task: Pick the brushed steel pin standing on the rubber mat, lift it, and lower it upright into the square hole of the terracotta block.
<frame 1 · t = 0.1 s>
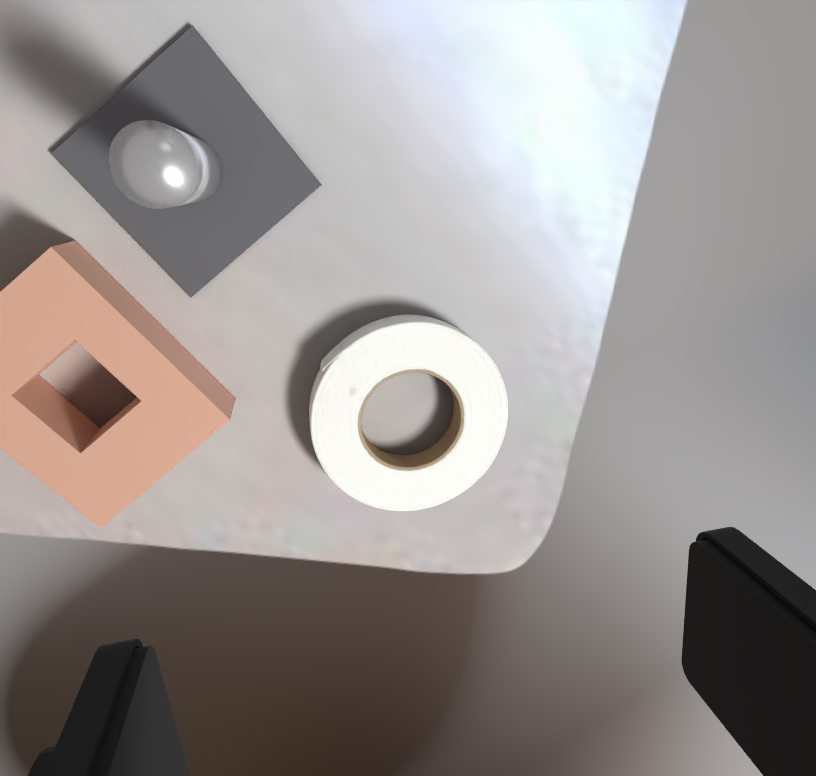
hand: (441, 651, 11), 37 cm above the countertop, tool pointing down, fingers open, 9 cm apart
hole block: (98, 377, 44), on the countertop
steel pin: (191, 169, 41), resting on rubber mat
rubber mat: (192, 169, 41), on the countertop
roll of tape: (404, 407, 50), on the countertop
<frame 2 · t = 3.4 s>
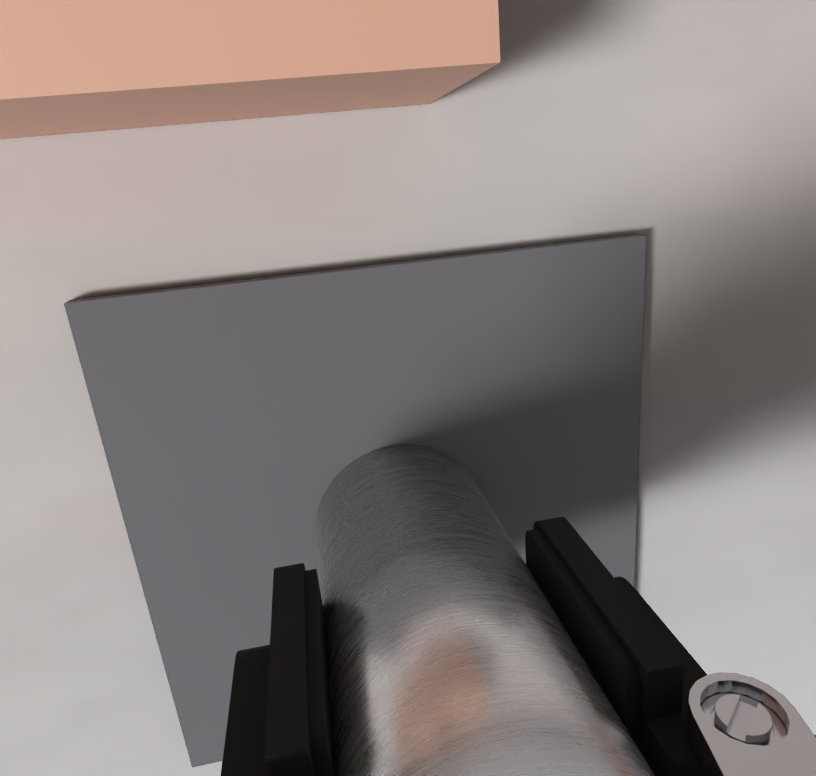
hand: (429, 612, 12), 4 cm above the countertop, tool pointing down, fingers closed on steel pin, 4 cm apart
steel pin: (401, 522, 15), resting on rubber mat, touching gripper
rubber mat: (398, 513, 15), on the countertop
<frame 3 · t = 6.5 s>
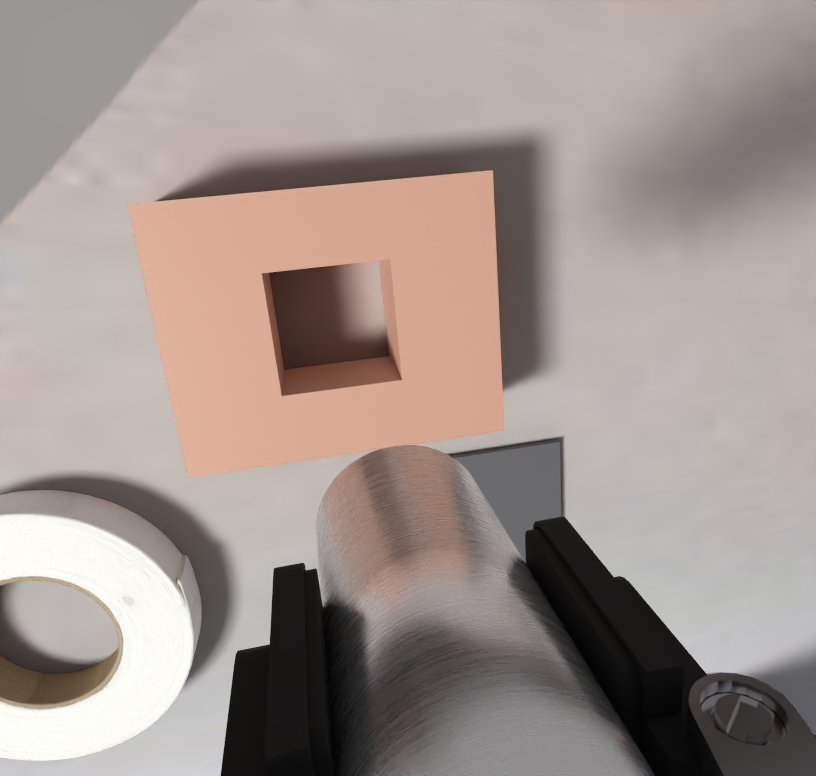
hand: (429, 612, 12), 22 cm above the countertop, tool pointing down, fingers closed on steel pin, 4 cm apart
hole block: (330, 310, 32), on the countertop
steel pin: (401, 523, 15), point 19 cm above the countertop, touching gripper
rubber mat: (463, 546, 37), on the countertop
roll of tape: (60, 609, 35), on the countertop
when the fingers open (6 cm above the countertop, at t = 9.5 s): steel pin drops 3 cm, resting in hole block.
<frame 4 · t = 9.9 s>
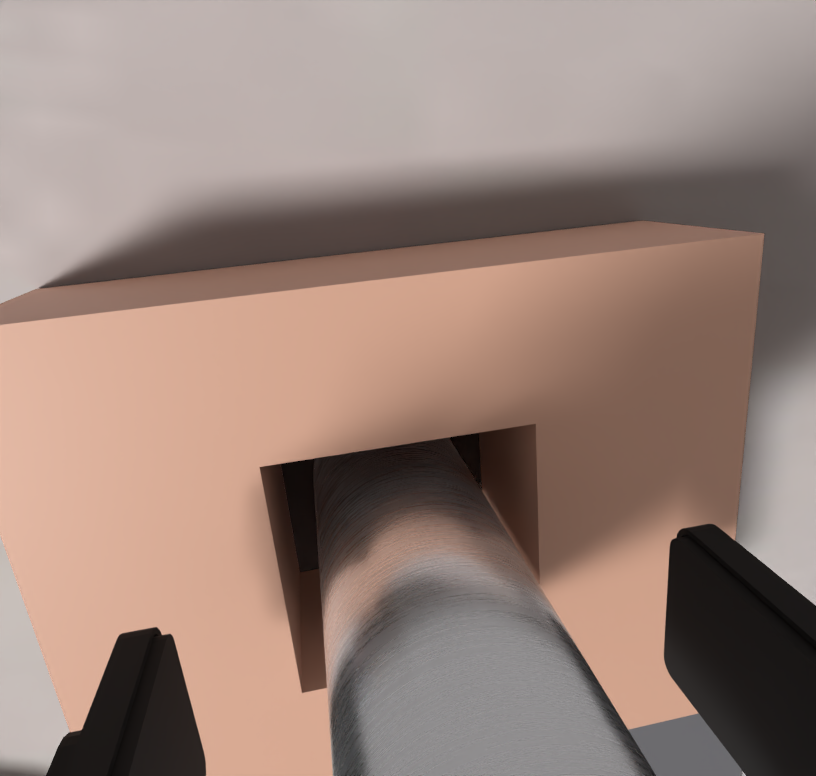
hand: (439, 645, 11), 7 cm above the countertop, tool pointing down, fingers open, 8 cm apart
hole block: (384, 470, 17), on the countertop
steel pin: (385, 471, 17), resting in hole block
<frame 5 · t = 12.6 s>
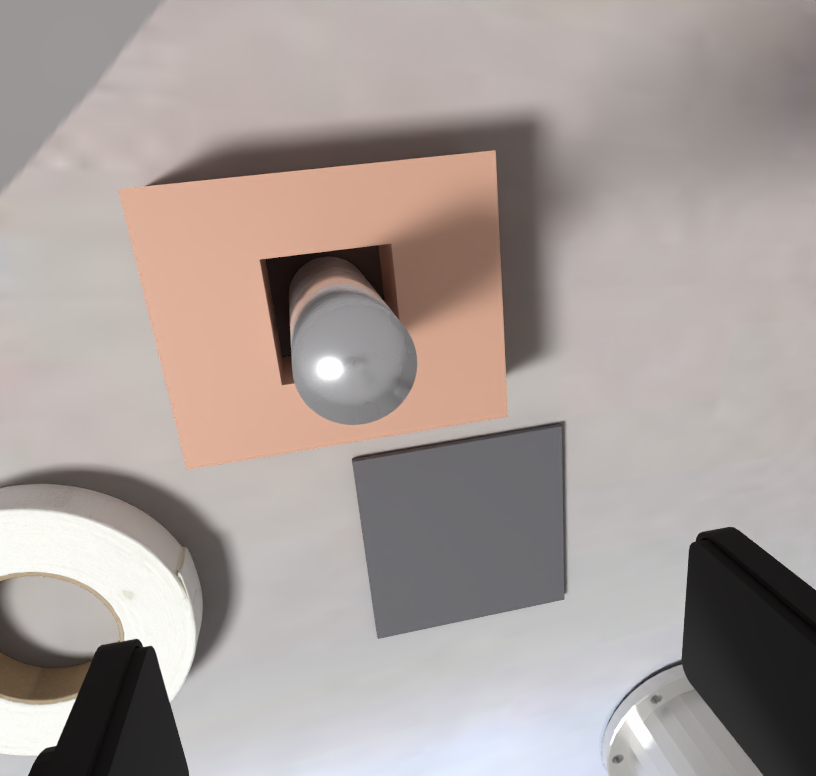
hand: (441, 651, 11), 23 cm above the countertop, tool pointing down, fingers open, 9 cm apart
hole block: (328, 296, 31), on the countertop
steel pin: (329, 297, 31), resting in hole block
rubber mat: (465, 532, 37), on the countertop
roll of tape: (59, 603, 34), on the countertop
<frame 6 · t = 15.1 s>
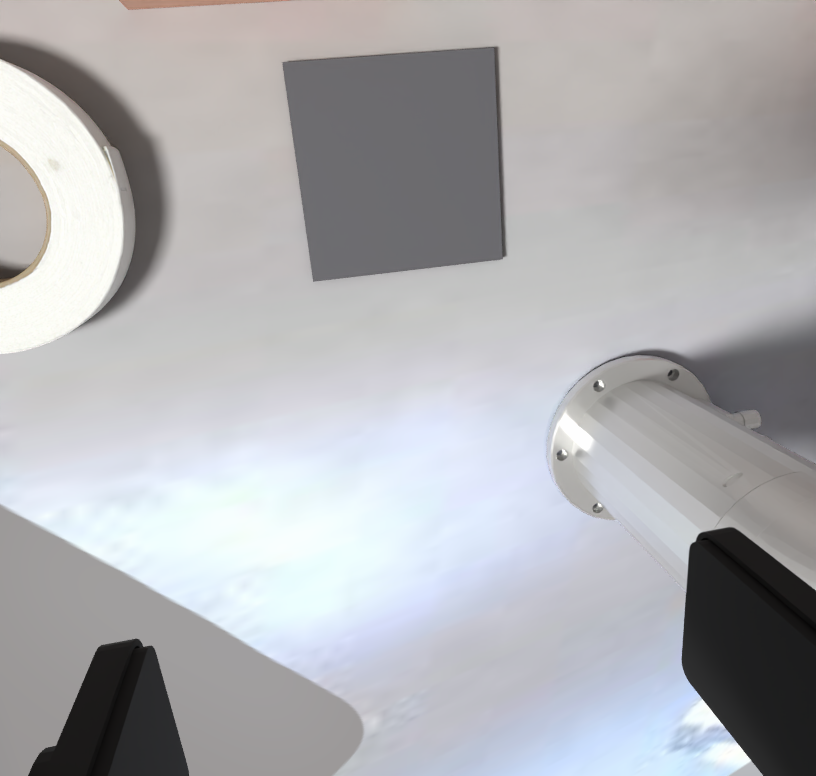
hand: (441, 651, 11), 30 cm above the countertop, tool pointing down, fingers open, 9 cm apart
rubber mat: (399, 168, 37), on the countertop
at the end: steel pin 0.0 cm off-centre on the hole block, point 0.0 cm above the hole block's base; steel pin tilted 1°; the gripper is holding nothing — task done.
